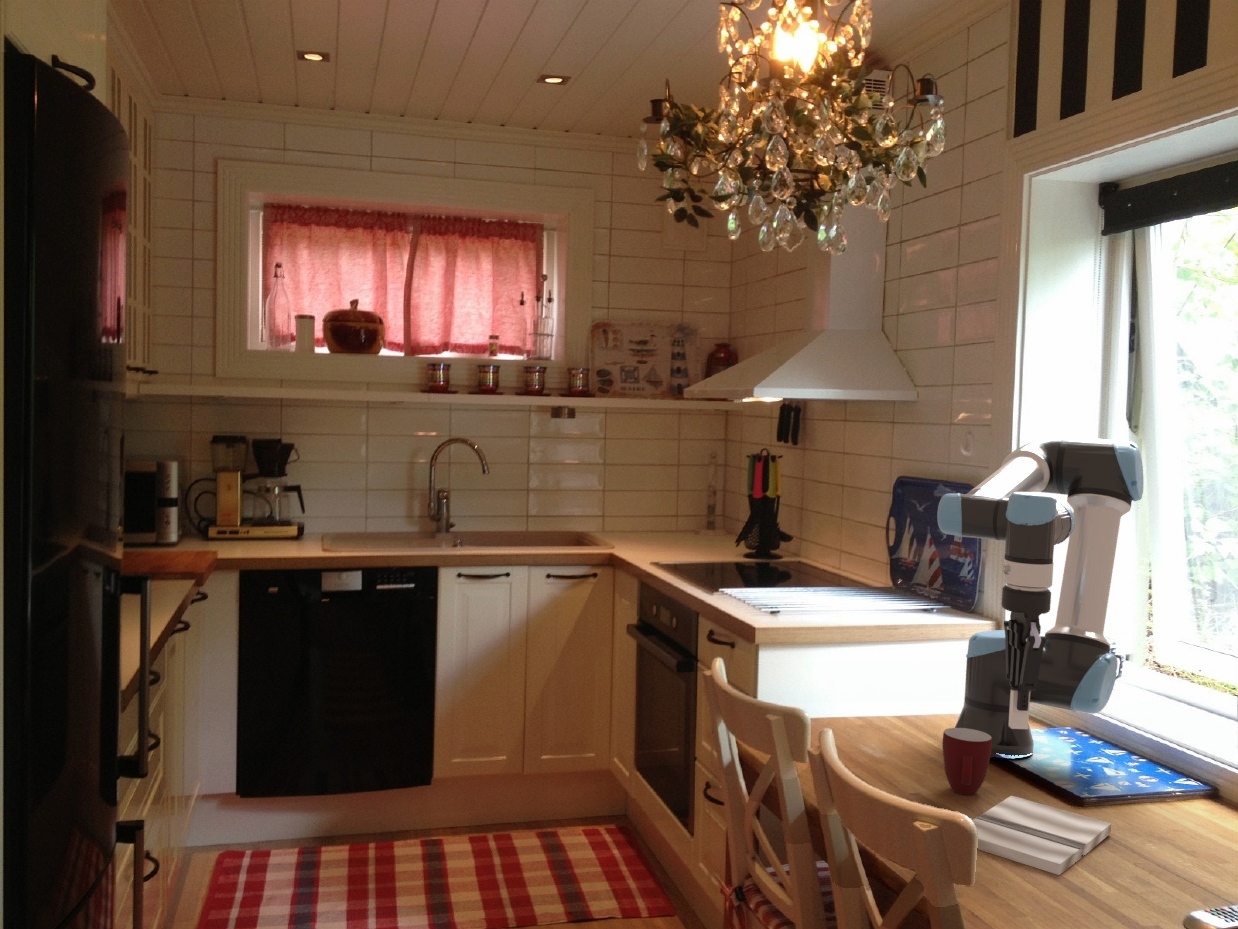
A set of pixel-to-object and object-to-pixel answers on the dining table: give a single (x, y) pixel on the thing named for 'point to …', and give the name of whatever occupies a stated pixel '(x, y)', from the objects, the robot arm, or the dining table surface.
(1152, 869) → the dining table surface
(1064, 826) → the plank
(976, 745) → the mug
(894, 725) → the dining table surface
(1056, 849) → the laid board
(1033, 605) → the robot arm
